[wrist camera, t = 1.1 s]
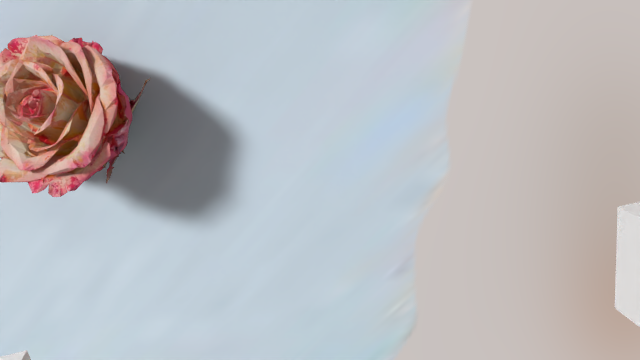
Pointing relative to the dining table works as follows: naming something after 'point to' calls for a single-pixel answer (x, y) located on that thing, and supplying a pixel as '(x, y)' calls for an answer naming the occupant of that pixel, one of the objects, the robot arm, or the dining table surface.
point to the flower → (59, 113)
